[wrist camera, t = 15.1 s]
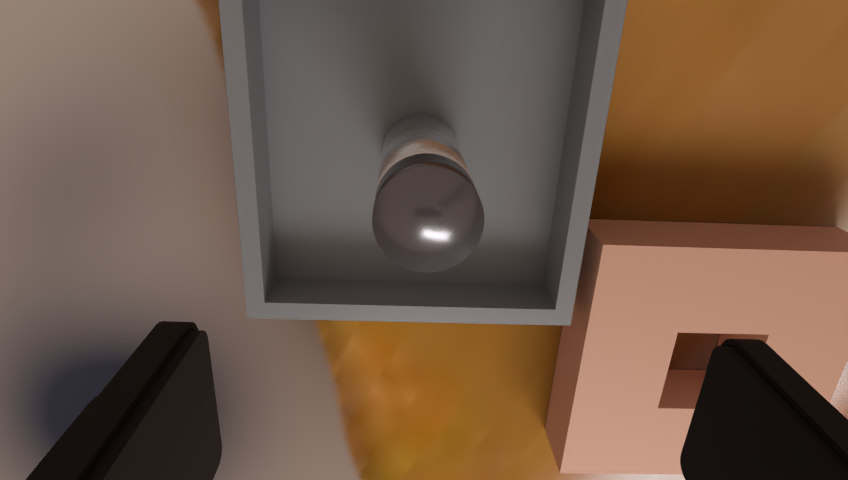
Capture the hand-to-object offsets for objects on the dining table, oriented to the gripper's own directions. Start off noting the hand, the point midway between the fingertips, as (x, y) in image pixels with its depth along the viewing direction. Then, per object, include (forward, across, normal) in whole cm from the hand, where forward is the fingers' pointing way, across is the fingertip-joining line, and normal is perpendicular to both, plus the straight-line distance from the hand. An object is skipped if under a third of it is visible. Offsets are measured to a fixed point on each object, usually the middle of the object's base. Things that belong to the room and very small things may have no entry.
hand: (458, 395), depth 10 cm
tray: (+22, +1, 0) cm, 22 cm away
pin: (+21, 0, 0) cm, 21 cm away
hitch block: (+22, -17, +12) cm, 31 cm away
